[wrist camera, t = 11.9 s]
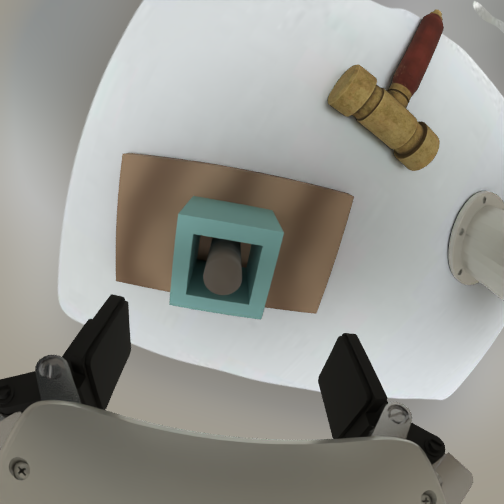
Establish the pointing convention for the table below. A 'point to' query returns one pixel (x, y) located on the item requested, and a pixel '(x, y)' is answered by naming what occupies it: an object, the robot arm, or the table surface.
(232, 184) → the post stand
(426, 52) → the gavel
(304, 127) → the table surface
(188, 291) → the collar
